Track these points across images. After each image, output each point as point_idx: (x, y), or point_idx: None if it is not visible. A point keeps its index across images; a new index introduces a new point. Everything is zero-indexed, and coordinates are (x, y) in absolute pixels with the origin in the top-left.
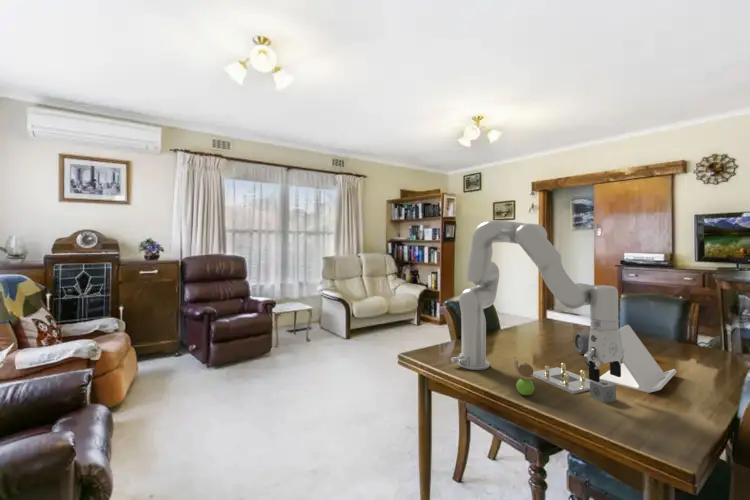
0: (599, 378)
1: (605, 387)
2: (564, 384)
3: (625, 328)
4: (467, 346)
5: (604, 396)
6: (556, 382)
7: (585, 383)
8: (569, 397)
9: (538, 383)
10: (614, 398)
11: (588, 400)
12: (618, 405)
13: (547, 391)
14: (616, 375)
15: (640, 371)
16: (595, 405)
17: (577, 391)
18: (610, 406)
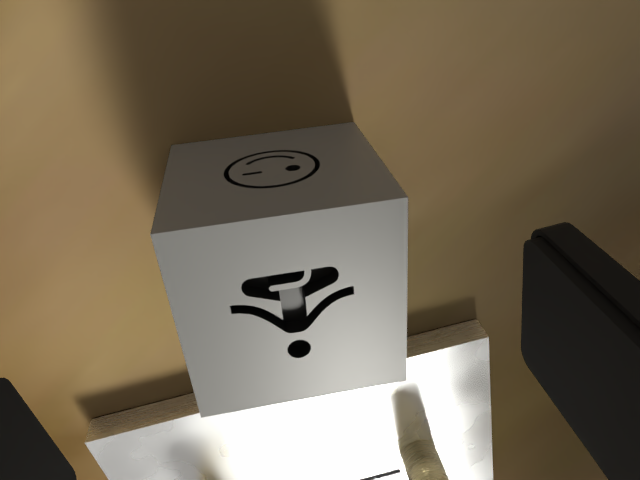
0: (578, 256)
1: (365, 199)
2: (442, 442)
3: None
4: None
5: (352, 149)
6: (470, 472)
7: (240, 458)
8: None
9: (554, 476)
10: (193, 152)
11: (454, 191)
12: (234, 30)
13: None
14: (22, 415)
15: None
16: (488, 78)
17: (421, 342)
18: (351, 24)
